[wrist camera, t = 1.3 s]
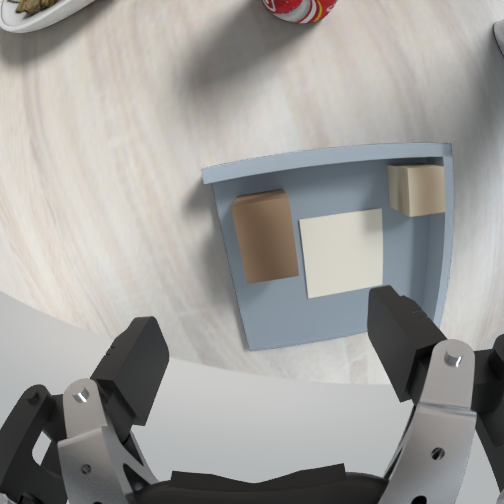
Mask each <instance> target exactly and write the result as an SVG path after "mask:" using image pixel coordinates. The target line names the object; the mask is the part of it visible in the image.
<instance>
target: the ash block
mask: <svg viewBox="0 0 504 504" xmlns="http://www.w3.org/2000/svg"><path fill="white" fill-rule="evenodd" d="M387 174H388V185H389V200H390V207H391V208H393V209H395V210H397V211H399V212H401V213H403V214H405V215H407V216H409V217H413V216H420V215H428V214H435V213H442V212H445V179H444V167H443V166H437V165H431V164H424V163H412V164H395V165H387Z"/></svg>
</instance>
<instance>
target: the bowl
mask: <svg viewBox="0 0 504 504" xmlns="http://www.w3.org/2000/svg"><path fill="white" fill-rule="evenodd" d="M93 1H95V0H1V1H0V27H1V28H2V29H4V30H5V31H9V32H13V33H26V32H31V31H35V30H39V29H42V28H45V27H47V26H50V25H52V24H54V23H56V22H58V21H61V20H63V19H64V18H66V17H68V16H70V15H72V14H74V13H75V12H77V11H79V10H80V9H82V8H84V7H85V6H87V5H89V4H90V3H92V2H93Z"/></svg>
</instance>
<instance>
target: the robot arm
mask: <svg viewBox="0 0 504 504" xmlns="http://www.w3.org/2000/svg"><path fill="white" fill-rule="evenodd" d="M494 33H495V37H496V40H497V43H498V45H499V47H500V49H501V51H502V53H503V55H504V20H501V21H498V22H496V23H495V24H494ZM367 331H368V336H369V339H370V341H371V343H372V345H373V347H374V349H375V351H376V353H377V355H378V357H379V359H380V361H381V363H382V365H383V367H384V369H385V371H386V373H387V375H388V377H389V379H390V381H391V384H392V386H393V388H394V390H395V392H396V394H397V397H398V398H399V401H400V402H404V401H406V400H410V399H412V401H413V403H414V406H413V408H412V411H411V414H410V416H409V419H408V422H407V424H406V427H405V430H404V432H403V435H402V437H401V440H400V442H399V444H398V447H397V449H396V451H395V454H394V456H393V458H392V460H391V461H390V463H389V465H388V467H387V469H386V471H385V473H384V475H383V477H382V478H381V477H378V476H374V475H371V474H365V473H356V472H345V467H344V463H342V464H337V465H332V466H326V467H321V468H315V469H308V470H301V471H297V472H294V473H291V474H289V475H285V476H282V477H279V478H275V479H272V480H268V481H264V482H260V483H247V482H242V481H238V480H233V479H229V478H225V477H221V476H217V475H213V474H201V473H189V472H179V471H172V476H171V480H168V481H162V482H159V481H158V480H157V479H156V477H155V476H154V475H153V473H152V472H151V470H150V468H149V466H148V464H147V463H146V461H145V458H144V456H143V454H142V452H141V450H140V448H139V445H138V443H137V441H136V439H135V436H134V434H133V433H132V431H131V427H132V425H140V426H145V424H146V421H147V419H148V416H149V413H150V410H151V408H152V405H153V402H154V399H155V397H156V394H157V391H158V389H159V386H160V383H161V381H162V378H163V375H164V373H165V370H166V368H167V365H168V362H169V350H168V347H167V345H166V342H165V340H164V337H163V335H162V332H161V330H160V327H159V325H158V322H157V320H156V319H155V318H154V317H153V316H151V317H136V318H134V319H133V321H132V322H131V324H130V325H129V327H128V328H127V330H125V331H124V332H123V333H121V334H120V335H119V336H118V337H117V338H116V339H115V340H114V342H113V343H112V345H111V346H110V348H109V349H108V351H107V353H106V355H105V356H104V357H103V358H102V360H101V361H100V363H99V365H98V366H97V368H96V369H95V371H94V373H93V374H92V376H91V377H90V379H81V380H77V381H75V382H74V383H72V384H71V385H70V386H69V387H68V388H67V389H66V390H65V392H64V394H61V395H51V394H50V393H49V391H48V390H47V389H46V387H45V386H43V385H34V386H31V387H30V388H28V389H27V390H26V391H25V392H24V393H23V395H22V396H21V398H20V399H19V400H18V402H17V404H16V405H15V407H14V408H13V410H12V412H11V413H10V415H9V416H8V418H7V420H6V421H5V423H4V425H3V426H2V428H1V430H0V504H66V503H67V499H68V500H69V504H455V501H456V498H457V496H458V493H459V490H460V487H461V484H462V481H463V477H464V474H465V471H466V467H467V463H468V459H469V455H470V451H471V446H472V441H473V436H474V431H475V429H476V431H477V434H478V436H479V438H480V440H481V443H482V445H483V447H484V450H485V452H486V455H487V457H488V459H489V462H490V464H491V467H492V470H493V473H494V476H495V478H496V481H497V484H498V487H499V490H500V495H499V497H498V500H497V503H496V504H504V334H502V335H500V336H498V337H497V339H496V340H495V343H494V346H493V348H492V349H488V350H480V351H473V350H472V348H471V347H470V346H469V345H468V344H466V343H464V342H462V341H459V340H454V339H449V340H448V339H447V338H446V337H445V336H444V334H443V333H442V332H441V331H440V329H439V328H438V327H437V326H436V325H435V324H434V322H433V321H432V320H431V319H430V318H429V317H428V315H427V314H426V313H425V312H424V311H422V308H421V307H420V306H419V305H418V304H417V303H416V302H415V301H414V300H412V299H410V298H408V297H406V296H405V295H402V296H399V294H398V293H397V292H396V291H395V290H394V289H393V288H392V286H391V285H386V286H381V287H376V288H371V289H370V290H369V298H368V316H367ZM41 431H43V432H44V433H45V434H46V435H47V437H49V439H50V440H51V443H50V446H49V448H48V450H47V452H46V454H45V456H44V459H43V461H42V463H41V465H40V466H39V464H37V463H36V462H35V460H34V459H33V456H32V450H33V447H34V445H35V443H36V441H37V439H38V437H39V435H40V433H41Z"/></svg>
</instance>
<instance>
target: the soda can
mask: <svg viewBox="0 0 504 504" xmlns="http://www.w3.org/2000/svg"><path fill="white" fill-rule="evenodd" d="M337 1H338V0H262V2H263V4H264V6H265V7H266V9H267V10H268V11H269V12H270V13H272V14H273V15H275V16H277V17H278V18H281V19H283V20H286V21H289V22H294V23H311V22H315V21H318V20H321V19H322V18H324V17H325V16H326V15H327V14H328V13H329V12H330V11H331V10H332V8H333V7H334V6H335V4H336V2H337Z"/></svg>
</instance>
